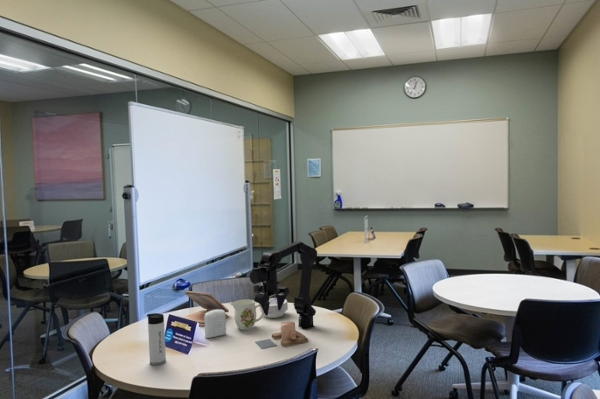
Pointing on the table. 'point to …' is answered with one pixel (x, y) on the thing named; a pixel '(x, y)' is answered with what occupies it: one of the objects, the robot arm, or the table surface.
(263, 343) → the mat
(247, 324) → the pitcher
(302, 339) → the brown u-shaped piece
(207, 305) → the case
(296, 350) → the table surface
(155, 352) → the travel mug
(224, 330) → the white tombstone
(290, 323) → the peach rounded canister
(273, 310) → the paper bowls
